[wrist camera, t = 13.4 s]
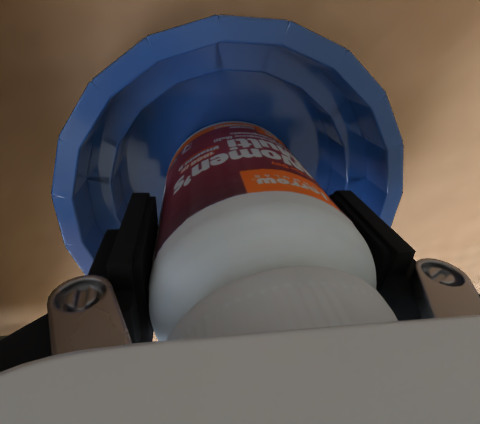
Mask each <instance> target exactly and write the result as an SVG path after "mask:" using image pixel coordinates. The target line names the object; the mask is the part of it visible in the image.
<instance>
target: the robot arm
mask: <svg viewBox="0 0 480 424" xmlns="http://www.w3.org/2000/svg"><path fill="white" fill-rule="evenodd" d="M329 197H330V199H331V200H332V201H333V202H334V203H335V204H336V205H337V206H338V208H339V209H341V210H342V211H343V213H344V214H345V215H346V216H347V217H348V218H349V219H350V220H351V221H352V222H353V224H354V225H355V227H356V229H357V230H358V231H359V232H360V234H361V235H362V237H363V238H364V240H365V241H366V243H367V245H368V247H369V249H370V252H371V254H372V257H373V260H374V264H375V269H376V282H377V284H376V290H377V291H378V293H379V294H380V295H381V296H382V297H383V299H384V300H385V301H386V303H387V304H388V305H389V307H390V308H391V310H392V311H393V313H394V314H395V316H396V318H397V319H398V321H390V322H377V323H364V324H353V325H342V326H330V327H318V328H305V329H292V330H279V331H268V332H256V333H245V334H234V335H222V336H211V337H200V338H188V339H177V340H166V341H155V342H152V339H153V331H154V330H153V327H152V324H151V320H150V315H149V290H148V286H149V278H150V273H151V268H152V259H153V252H154V246H155V240H156V235H157V230H158V216H157V204H156V197H155V196H153V197H150V193H149V192H148V193H132V195H131V198H130V201H129V204H128V206H127V209H126V212H125V215H124V217H123V220H122V223H121V226H120V228H119V229H109V230H107V231H106V233H105V235H104V237H103V240H102V242H101V244H100V247H99V249H98V251H97V254H96V256H95V258H94V261H93V263H92V265H91V268H90V270H89V273H88V275H84V276H79V277H75V278H72V279H70V280H67V281H66V282H64V283H62V284H60V285H59V286H58V287H57V288H55V289H54V290H53V291H52V293H51V294H50V296H49V297H48V301H47V310H48V313H47V314H46V315H44V316H42V317H40V318H39V319H37V320H35V321H33V322H32V323H30V324H28V325H26V326H25V327H23V328H21V329H19V330H18V331H16V332H14V333H12V334H11V335H9V336H7V337H5V338H3V339H2V340H0V424H480V294H478V292H477V291H476V289H475V287H474V285H473V284H472V282H471V280H470V279H469V277H468V276H467V275H466V274H465V273H464V272H463V271H461V270H460V269H459V268H457V267H455V266H453V265H452V264H449V263H447V262H444V261H441V260H437V259H430V258H426V259H421V260H418V261H417V262H416V261H415V260H414V259H413V257H414V254H415V252H416V251H415V250H414V249H413V248H412V247H411V246H410V245H409V244H408V243H406V242H405V241H404V240H403V239H402V238H401V237H400V236H399V235H398V234H397V233H396V232H395V231H394V230H393V229H392V228H390V227H389V226H388V225H387V224H386V223H385V222H384V221H383V220H382V219H381V218H380V217H379V216H378V215H377V214H376V213H374V212H373V211H372V210H371V209H370V208H369V207H368V206H367V205H366V204H365V203H364V202H363V201H362V200H361V199H360V198H358V197H357V196H356V195H355V194H354V193H353V192H352V191H350V190H337V191H334V193H333V194H330V195H329Z"/></svg>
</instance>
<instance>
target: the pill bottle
mask: <svg viewBox="0 0 480 424" xmlns="http://www.w3.org/2000/svg"><path fill="white" fill-rule="evenodd" d="M376 284H377V282H376V269H375V264H374V260H373V257H372V254H371V252H370V249H369V247H368V245H367V243H366V241H365V240H364V238H363V237H362V235H361V234H360V232H359V231H358V230H357V229H356V227H355V225H354V224H353V222H352V221H351V220H350V219H349V218H348V217H347V216H346V215H345V214H344V213H343V211H342V210H341V209H339V208H338V206H337V205H336V204H335V203H334V202H333V201H332V200H331V199H330V197H329V196H328V195H327V194H326V193H325V191H324V190H323V189H322V188H321V187H320V185H319V184H318V183H317V182H316V180H315V179H314V178H313V177H312V176H311V175H310V174H309V173H308V172H307V170H306V169H305V168H304V167H303V166H302V165H301V164H300V162H299V161H298V160H297V159H296V158H295V157H294V156H293V155H292V153H291V152H290V151H289V150H288V148H287V147H286V146H285V145H284V144H283V143H282V142H281V141H280V140H279V139H278V138H277V137H276V136H275V135H273V134H272V133H271V132H269V131H268V130H266V129H264V128H262V127H260V126H258V125H255V124H252V123H247V122H242V121H225V122H219V123H215V124H212V125H209V126H207V127H204V128H202V129H200V130H198V131H197V132H195V133H194V134H193V135H191V136H190V137H189V138H188V139H187V140H186V141H185V142H184V143H183V144H182V145H181V146H180V147H179V149H178V150H177V152H176V153H175V155H174V157H173V159H172V161H171V163H170V166H169V169H168V173H167V177H166V182H165V189H164V195H163V201H162V207H161V212H160V218H159V224H158V230H157V235H156V240H155V246H154V252H153V259H152V268H151V273H150V278H149V286H148V290H149V315H150V320H151V324H152V327H153V330H154V332H155V335H156V337H157V339H158V340H159V341H166V340H177V339H188V338H200V337H211V336H222V335H234V334H245V333H256V332H268V331H279V330H292V329H305V328H318V327H330V326H342V325H353V324H364V323H377V322H390V321H398V319H397V318H396V316H395V314H394V313H393V311H392V310H391V308H390V307H389V305H388V304H387V303H386V301H385V300H384V299H383V297H382V296H381V295H380V294H379V293H378V291H377V290H376Z"/></svg>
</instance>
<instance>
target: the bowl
mask: <svg viewBox="0 0 480 424" xmlns="http://www.w3.org/2000/svg"><path fill="white" fill-rule="evenodd" d="M225 121H242V122H247V123H252V124H255V125H258V126H260V127H262V128H264V129H266V130H268V131H269V132H271V133H272V134H273V135H275V136H276V137H277V138H278V139H279V140H280V141H281V142H282V143H283V144H284V145H285V146H286V147H287V148H288V150H289V151H290V152H291V153H292V155H293V156H294V157H295V158H296V159H297V160H298V161H299V162H300V164H301V165H302V166H303V167H304V168H305V169H306V170H307V172H308V173H309V174H310V175H311V176H312V177H313V178H314V179H315V180H316V182H317V183H318V184H319V185H320V187H321V188H322V189H323V190H324V191H325V193H326V194H327V195H328V196H329V195H330V194H333V193H334V191H337V190H350V191H352V192H353V193H354V194H355V195H356V196H357V197H358V198H360V199H361V200H362V201H363V202H364V203H365V204H366V205H367V206H368V207H369V208H370V209H371V210H372V211H373V212H374V213H376V214H377V215H378V216H379V217H380V218H381V219H382V220H383V221H384V222H385V223H386V224H387V225H388V226H389V227H390V228H391V225H392V222H393V219H394V216H395V213H396V210H397V208H398V205H399V202H400V199H401V196H402V193H403V191H402V190H403V148H404V145H403V140H402V137H401V134H400V131H399V129H398V126H397V123H396V120H395V117H394V114H393V111H392V109H391V106H390V103H389V100H388V97H387V95H386V92H385V91H384V89H383V88H382V87H381V86H380V85H379V84H378V83H377V81H376V80H375V79H374V78H373V77H372V76H371V75H370V73H369V72H368V71H367V70H366V69H365V68H364V67H363V65H362V64H361V63H360V62H359V61H358V60H357V59H356V57H355V56H354V55H353V54H352V53H351V52H350V51H349V50H347V49H346V48H345V47H343V46H341V45H339V44H337V43H335V42H333V41H331V40H329V39H327V38H325V37H323V36H321V35H319V34H317V33H315V32H313V31H311V30H309V29H307V28H305V27H303V26H301V25H299V24H297V23H295V22H293V21H288V20H285V19H272V18H259V17H247V16H234V15H221V14H220V15H218V16H217V15H213V16H210V17H206V18H203V19H200V20H197V21H193V22H190V23H187V24H184V25H180V26H177V27H174V28H170V29H167V30H164V31H161V32H157V33H154V34H151V35H148V36H147V37H145V38H143V39H142V40H141V41H139V42H138V43H137V44H135V45H134V46H133V47H132V48H130V49H129V50H128V51H127V52H125V53H124V54H123V55H122V56H120V57H119V58H118V59H117V60H115V61H114V62H113V63H112V64H110V65H109V66H108V67H107V68H105V69H104V70H103V71H101V72H100V73H99V74H98V75H96V76H95V77H94V78H93V79H92V81H90V82H89V83H88V85H87V87H86V88H85V90H84V92H83V94H82V96H81V97H80V99H79V101H78V103H77V104H76V106H75V108H74V110H73V111H72V113H71V115H70V117H69V118H68V120H67V122H66V124H65V126H64V127H63V129H62V131H61V133H60V134H59V138H58V142H57V150H56V158H55V166H54V174H53V182H52V190H51V194H52V200H53V204H54V208H55V211H56V215H57V219H58V223H59V226H60V230H61V234H62V238H63V241H64V244H65V247H66V249H67V250H68V252H69V253H70V254H71V256H72V257H73V259H74V260H75V261H76V263H77V264H78V266H79V267H80V269H81V270H82V271H83V273H84V274H85V275H88V273H89V270H90V268H91V265H92V263H93V261H94V258H95V256H96V254H97V251H98V249H99V247H100V244H101V242H102V240H103V237H104V235H105V233H106V231H107V230H109V229H119V228H120V226H121V223H122V220H123V217H124V215H125V212H126V209H127V206H128V204H129V201H130V198H131V195H132V193H148V192H149V193H150V197H153V196H155V197H156V204H157V216H158V224H159V218H160V212H161V207H162V201H163V195H164V189H165V182H166V177H167V173H168V169H169V166H170V163H171V161H172V159H173V157H174V155H175V153H176V152H177V150H178V149H179V147H180V146H181V145H182V144H183V143H184V142H185V141H186V140H187V139H188V138H189V137H190V136H191V135H193V134H194V133H195V132H197V131H198V130H200V129H202V128H204V127H207V126H209V125H212V124H215V123H219V122H225Z"/></svg>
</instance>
